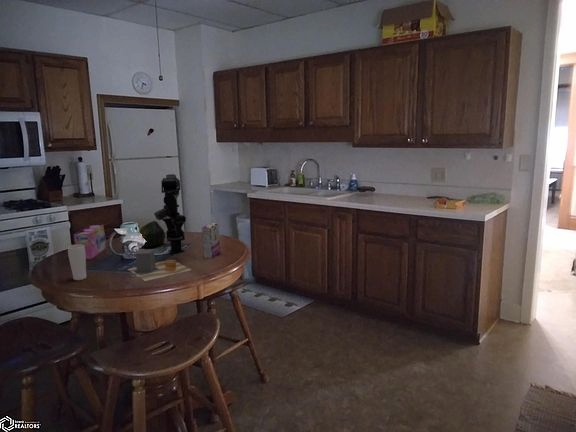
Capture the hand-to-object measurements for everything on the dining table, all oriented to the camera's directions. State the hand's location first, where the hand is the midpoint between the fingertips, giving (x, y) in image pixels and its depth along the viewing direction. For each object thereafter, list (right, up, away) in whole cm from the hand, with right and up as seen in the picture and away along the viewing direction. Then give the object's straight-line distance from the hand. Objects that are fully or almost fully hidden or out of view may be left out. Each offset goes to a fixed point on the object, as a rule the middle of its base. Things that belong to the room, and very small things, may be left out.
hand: (173, 233), depth 213 cm
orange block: (+3, -16, -17) cm, 23 cm away
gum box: (-48, -12, +16) cm, 52 cm away
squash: (-20, -8, +28) cm, 36 cm away
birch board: (-2, -17, -16) cm, 23 cm away
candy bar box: (+18, -12, +6) cm, 23 cm away
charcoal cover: (-8, -16, -17) cm, 25 cm away
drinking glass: (-35, -19, -24) cm, 47 cm away
